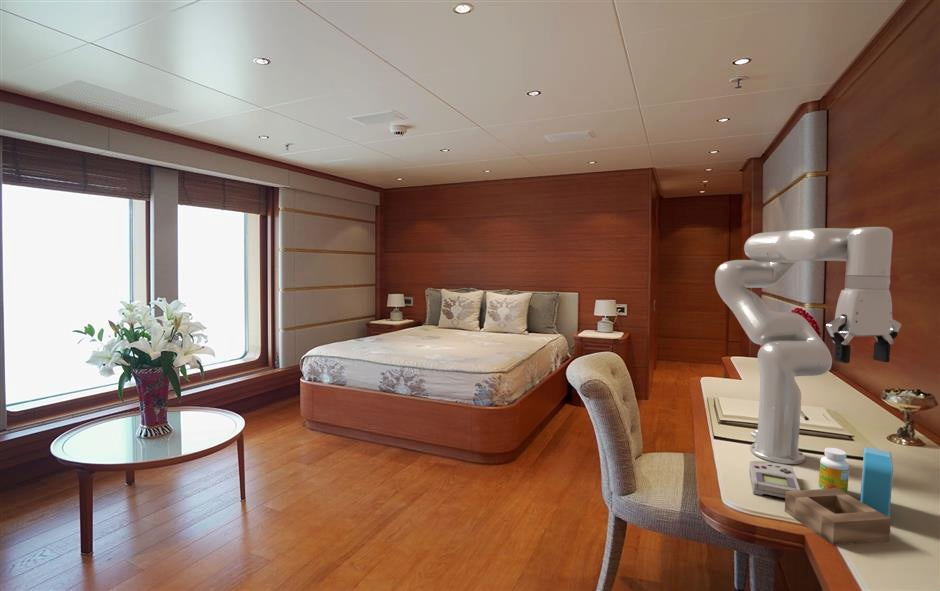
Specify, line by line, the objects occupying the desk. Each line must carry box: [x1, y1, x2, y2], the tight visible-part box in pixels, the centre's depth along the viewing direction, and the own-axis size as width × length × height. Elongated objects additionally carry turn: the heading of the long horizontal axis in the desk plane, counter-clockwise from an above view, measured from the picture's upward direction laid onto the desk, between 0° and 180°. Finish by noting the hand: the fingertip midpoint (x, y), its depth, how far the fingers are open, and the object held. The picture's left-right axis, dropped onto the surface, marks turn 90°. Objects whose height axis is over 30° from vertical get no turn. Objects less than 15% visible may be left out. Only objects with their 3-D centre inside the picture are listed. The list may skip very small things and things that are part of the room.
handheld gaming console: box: [748, 460, 801, 499], centre depth 115 cm, size 9×4×15 cm
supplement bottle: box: [818, 447, 850, 494], centre depth 112 cm, size 5×5×10 cm
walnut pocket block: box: [784, 488, 892, 546], centre depth 98 cm, size 12×12×4 cm
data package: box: [860, 446, 894, 518], centre depth 104 cm, size 12×4×12 cm, turn 141°
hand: (861, 361), depth 106 cm, fingers open, 9 cm apart
